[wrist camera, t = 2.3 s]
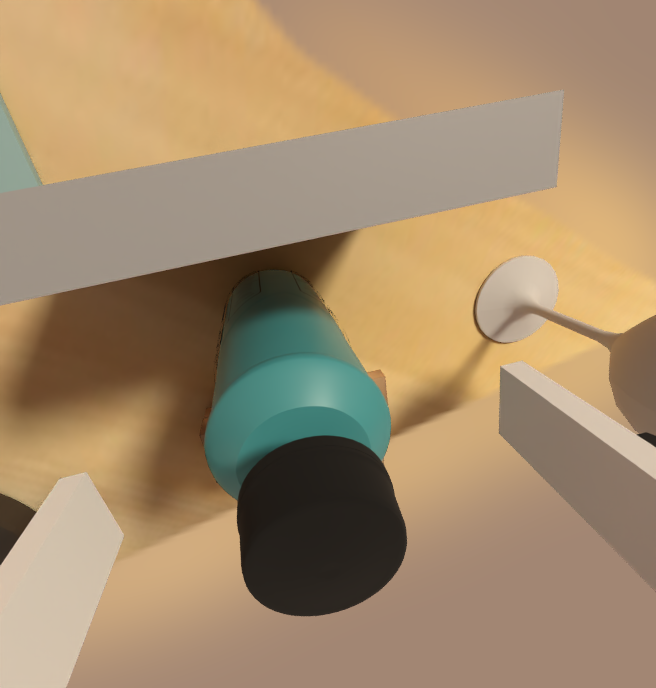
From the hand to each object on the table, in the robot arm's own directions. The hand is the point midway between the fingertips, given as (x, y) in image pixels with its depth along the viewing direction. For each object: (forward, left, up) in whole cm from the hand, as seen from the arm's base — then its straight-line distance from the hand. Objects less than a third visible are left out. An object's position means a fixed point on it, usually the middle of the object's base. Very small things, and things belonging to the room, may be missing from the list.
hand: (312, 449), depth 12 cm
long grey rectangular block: (0, +7, -16) cm, 18 cm away
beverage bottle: (0, 0, -16) cm, 16 cm away
